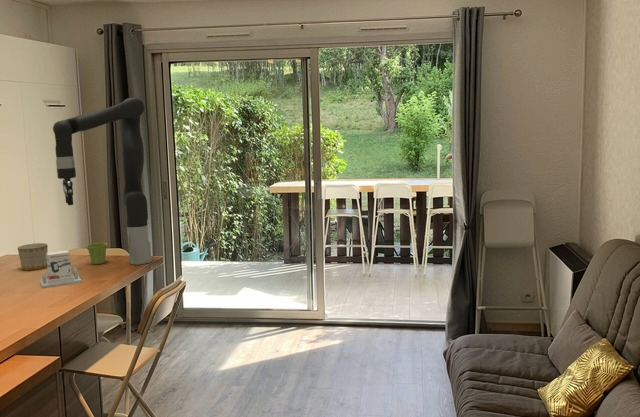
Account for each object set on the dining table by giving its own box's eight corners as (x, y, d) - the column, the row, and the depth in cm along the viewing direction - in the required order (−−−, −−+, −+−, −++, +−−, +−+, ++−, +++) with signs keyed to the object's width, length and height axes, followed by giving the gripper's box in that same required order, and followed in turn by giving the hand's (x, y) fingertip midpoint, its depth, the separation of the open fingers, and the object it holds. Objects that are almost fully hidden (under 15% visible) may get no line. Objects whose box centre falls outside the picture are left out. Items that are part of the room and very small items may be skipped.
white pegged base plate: (78, 277, 278) (77, 265, 278) (81, 282, 269) (80, 270, 268) (40, 282, 272) (39, 270, 271) (41, 288, 262) (40, 275, 262)
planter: (55, 265, 305) (53, 243, 303) (35, 271, 293) (33, 249, 291) (34, 264, 309) (31, 242, 307) (13, 270, 297) (11, 248, 296)
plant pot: (97, 266, 299) (95, 247, 298) (83, 264, 304) (81, 246, 303) (113, 261, 307) (111, 243, 306) (99, 260, 312) (98, 242, 311)
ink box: (50, 282, 266) (47, 254, 264) (48, 280, 270) (45, 252, 269) (72, 279, 270) (69, 251, 269) (70, 277, 275) (67, 249, 273)
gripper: (76, 167, 279) (80, 204, 281) (73, 165, 291) (77, 201, 294) (58, 168, 275) (61, 206, 278) (55, 167, 288) (59, 203, 290)
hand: (69, 204), depth 286 cm, fingers open, 8 cm apart
